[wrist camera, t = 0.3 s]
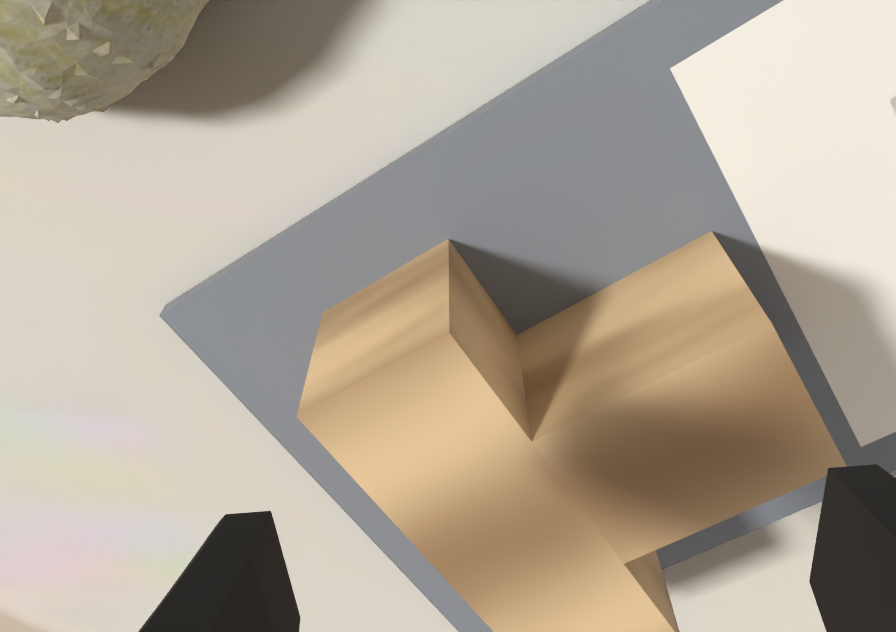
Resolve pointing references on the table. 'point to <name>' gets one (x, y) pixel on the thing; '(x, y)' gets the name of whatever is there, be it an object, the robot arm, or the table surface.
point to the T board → (618, 222)
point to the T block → (563, 430)
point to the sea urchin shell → (84, 51)
